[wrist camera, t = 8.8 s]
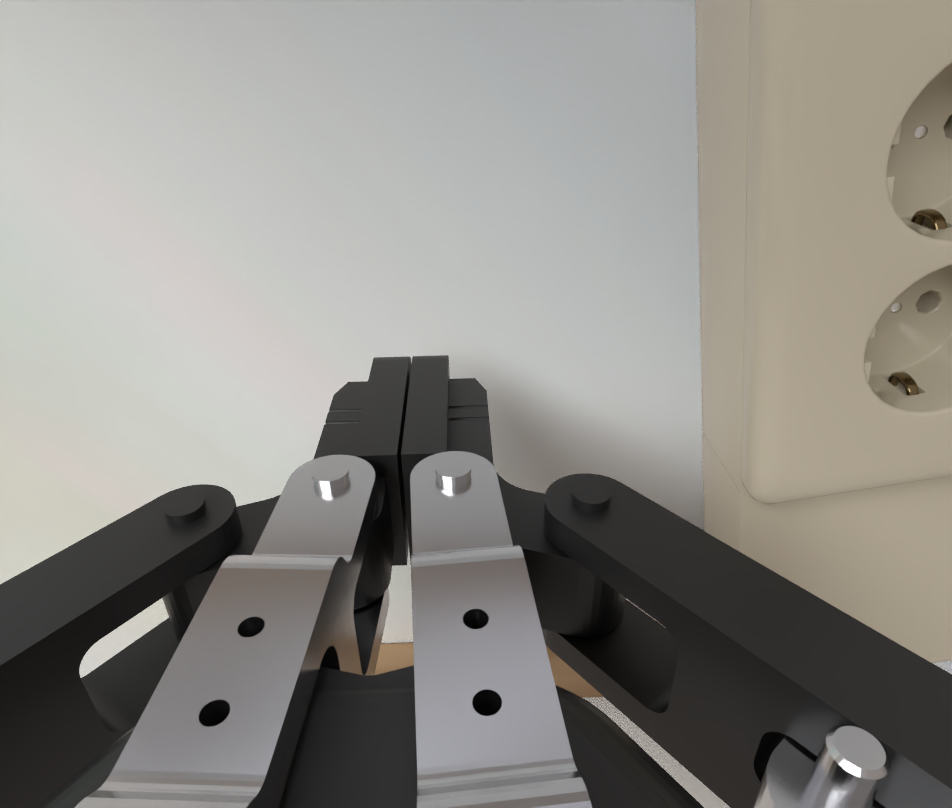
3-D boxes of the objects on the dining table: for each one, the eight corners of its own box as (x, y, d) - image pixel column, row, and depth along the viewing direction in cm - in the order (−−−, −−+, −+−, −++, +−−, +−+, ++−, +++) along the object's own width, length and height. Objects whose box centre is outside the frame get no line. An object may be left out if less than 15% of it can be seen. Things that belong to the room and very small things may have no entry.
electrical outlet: (749, 719, 18) (776, -68, 9) (701, 607, 22) (688, -40, 13) (1019, 682, 18) (1316, -184, 9) (925, 573, 21) (1071, -122, 12)
